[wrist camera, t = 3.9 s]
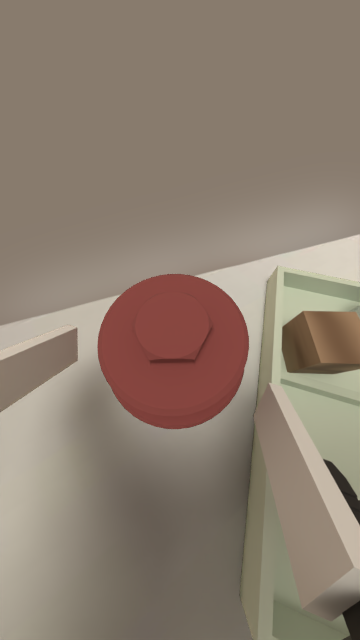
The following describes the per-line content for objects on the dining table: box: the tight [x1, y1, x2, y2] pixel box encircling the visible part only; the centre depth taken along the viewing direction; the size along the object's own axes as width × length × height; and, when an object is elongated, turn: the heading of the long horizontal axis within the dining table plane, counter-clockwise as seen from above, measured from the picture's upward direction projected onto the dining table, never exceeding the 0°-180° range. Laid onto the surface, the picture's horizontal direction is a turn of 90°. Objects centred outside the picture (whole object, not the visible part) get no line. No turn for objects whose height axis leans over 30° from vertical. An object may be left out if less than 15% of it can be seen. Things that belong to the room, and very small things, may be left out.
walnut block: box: [282, 311, 360, 374], centre depth 17 cm, size 5×5×5 cm
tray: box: [240, 266, 360, 640], centre depth 16 cm, size 16×30×3 cm, turn 163°
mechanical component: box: [98, 274, 249, 429], centre depth 14 cm, size 12×10×10 cm
